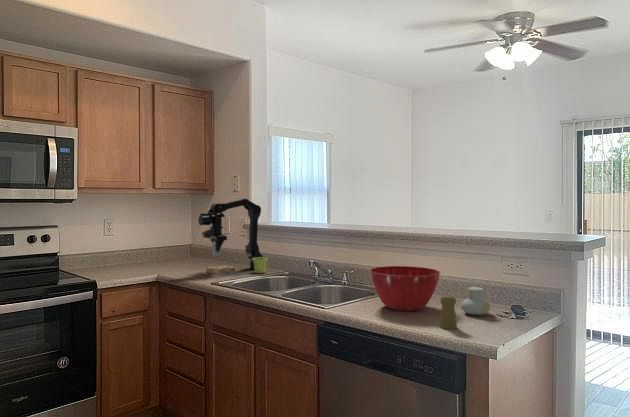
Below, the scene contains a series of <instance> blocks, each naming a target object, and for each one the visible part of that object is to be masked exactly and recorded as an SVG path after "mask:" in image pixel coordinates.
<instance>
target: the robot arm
mask: <svg viewBox="0 0 630 417" xmlns="http://www.w3.org/2000/svg"><path fill="white" fill-rule="evenodd" d="M242 206H243V208H244V209H245V210H247V215H248V218H249V233H248V234H249V235H248V243H247V244H245V255H246V256H247V257H248V259H249V262H248V269H249V270H253V271H255V269H254V262H253V259H252V258H257V257H264V256H263V254H261V252H260V247H259V245H258V227H259V224H258V223H259V222H258V221H259V218H260V217H261V212H262V208H261V206H260V205H259V204H256V203H255V202H252V201H250V200H249V199H248V198H241V199H236V200H232V201H228V202H219V203H218V202H217V203H212V204H211V205H210V208H209V210H208V211H207V212H206V213H201V212H200V213H199V214H200V215H199V216H198V224H199V226H210V225H211V226H210V228H209V229H207V230H205V231H202V232H201V235H202V237H203V238H204V239H206V238H207V239H208V240H209V241H210V242H211V243H212V245H213V244H214V242H215V243H216V250H217V252H219V250H220V248H221V247H222V245H223V244H224V242H225V241H228V236H227V235H225V234H223V233H222V232H223V228H224V226H223V224H222V223H223V218H226V215H225V214H224V213H225V212H226V211H228V210H229V209H234V208H238V207H242Z"/></svg>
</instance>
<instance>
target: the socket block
mask: <svg viewBox="0 0 630 417" xmlns="http://www.w3.org/2000/svg"><path fill="white" fill-rule="evenodd" d="M233 272H236V268H235V267H233V266H232V265H224V266H223V265H222V266H207V267H206V273H208V274H211V275H216V274H217V275H219V274H229V273H233Z"/></svg>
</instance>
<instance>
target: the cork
mask: <svg viewBox="0 0 630 417" xmlns="http://www.w3.org/2000/svg"><path fill="white" fill-rule="evenodd" d="M456 303H457V298H456V296H453V295H447V294H446V295H441V297H440V304H441V311H440V318H439V326H438V327H439V328H441V329H442V330H443V329H444V330H456V329H458V325H457V324H458V323H457V317H456V309H455V305H456Z"/></svg>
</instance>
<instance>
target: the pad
mask: <svg viewBox="0 0 630 417" xmlns="http://www.w3.org/2000/svg"><path fill="white" fill-rule="evenodd" d="M228 274H229V275H231V276H239V275H248V273H247V272H244V271H235V272H232V273H228Z"/></svg>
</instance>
